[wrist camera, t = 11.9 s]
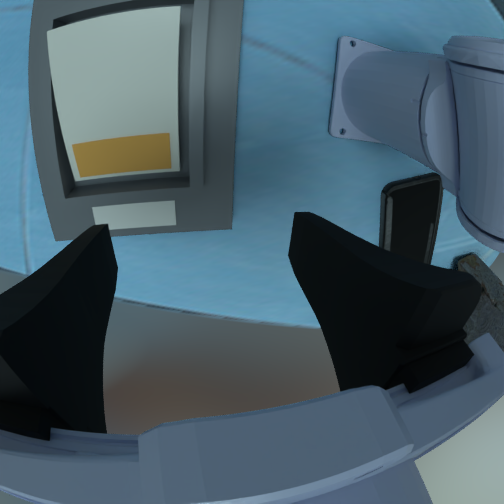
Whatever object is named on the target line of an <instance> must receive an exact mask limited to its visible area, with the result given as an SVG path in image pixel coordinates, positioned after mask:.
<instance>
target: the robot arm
mask: <svg viewBox="0 0 504 504" xmlns="http://www.w3.org/2000/svg"><path fill="white" fill-rule="evenodd" d="M350 41H352V42H353V47H352V46H351V45H350ZM443 51H444V55H439V54H430V53H418V52H400V51H392V50H390V49H387V48H384V47H381V46H378V45H375V44H372V43H369V42H366V41H363V40H359V39H356V38H352V37H349V36H342V37H340V38H339V40H338V52H337V63H336V73H335V82H334V91H333V100H332V108H331V116H330V124H329V133H330V135H332V136H334V137H338V138H347V139H355V140H362V141H369V142H376V143H382V144H386V145H388V146H390V147H392V148H394V149H396V150H398V151H400V152H402V153H404V154H406V155H408V156H409V157H411V158H413V159H415V160H417V161H419V162H420V163H422V164H424V165H426V166H427V167H429V168H431V169H432V170H434V171H436V172H438V173H439V175H440V177H441V179H442V187H443V188H444V189H446V190H447V191H449V192H450V193H452V194H453V195H455V196H456V197H457V198H456V211H457V215H458V218H459V220H460V222H461V224H462V225H463V227H464V228H465V229H466V230H467V232H468V233H469V234H470V235H471V236H473V237H474V238H475V239H476V240H478V241H479V242H481V243H482V244H484V245H485V246H487V247H489V248H491V249H493V250H496V251H499V252H502V253H504V40H502V39H496V38H488V37H477V36H452V37H451V38H450V40H449V41H448V44H444V46H443ZM342 128H343V133H342V134H340V129H342ZM288 256H289V259H290V262H291V266H292V268H293V271H294V274H295V276H296V278H297V280H298V282H299V284H300V286H301V288H302V290H303V292H304V294H305V296H306V298H307V300H308V302H309V304H310V305H311V307H312V309H313V311H314V313H315V315H316V317H317V319H318V322H319V324H320V326H321V329H322V332H323V334H324V337H325V340H326V343H327V346H328V349H329V352H330V355H331V358H332V361H333V365H334V368H335V372H336V375H337V379H338V383H339V387H340V392H338V393H334V394H331V395H327V396H323V397H319V398H315V399H311V400H307V401H303V402H299V403H294V404H289V405H284V406H279V407H274V408H269V409H263V410H257V411H252V412H245V413H237V414H230V415H222V416H214V417H203V418H193V419H187V420H181V421H175V422H168V423H162V424H160V425H158V426H156V427H154V428H152V429H150V430H147V431H145V432H144V433H142V434H141V435H124V434H123V435H122V434H107V430H106V423H105V414H104V401H103V400H104V399H103V354H104V342H105V336H106V330H107V326H108V321H109V316H110V312H111V307H112V303H113V299H114V294H115V290H116V282H117V272H118V266H117V262H116V258H115V254H114V249H113V245H112V241H111V236H110V231H109V226H108V224H99V225H93V226H91V227H90V228H88V229H87V230H85V231H84V232H83V233H82V234H80V235H79V236H78V237H77V238H76V239H74V240H73V241H72V242H71V243H70V244H69V245H67V246H66V247H65V248H64V249H63V250H62V251H60V252H59V253H58V254H57V255H55V256H54V257H53V258H52V259H51V260H49V261H48V262H47V263H46V264H45V265H43V266H42V267H41V268H39V269H38V270H37V271H35V272H34V273H33V274H31V275H30V276H28V277H27V278H26V279H24V280H23V281H21V282H20V283H18V284H16V285H15V286H13V287H12V288H10V289H8V290H7V291H5V292H4V293H2V294H0V491H3V492H5V493H8V494H10V495H13V496H15V497H18V498H20V499H23V500H26V501H29V502H32V503H35V504H433V503H432V500H431V498H430V496H429V494H428V491H427V489H426V487H425V484H424V482H423V480H422V478H421V476H420V473H419V471H418V469H417V467H416V465H415V462H414V461H415V460H416V459H418V458H420V457H421V456H423V455H425V454H426V453H428V452H430V451H431V450H433V449H434V448H436V447H438V446H439V445H441V444H442V443H443V442H445V441H447V440H448V439H450V438H451V437H453V436H454V435H455V434H457V433H458V432H460V431H461V430H462V429H464V428H465V427H466V426H468V425H469V424H470V423H472V422H473V421H474V420H476V419H477V418H478V417H479V416H481V415H482V414H483V413H484V412H485V411H486V410H488V408H490V407H491V406H492V405H493V404H494V403H496V402H497V401H498V400H499V399H500V398H501V397H502V396H503V395H504V352H503V351H502V349H501V348H500V347H499V345H498V344H497V343H496V341H495V340H494V339H493V337H492V336H491V335H490V334H489V333H486V334H484V335H482V336H480V337H478V338H477V339H475V340H473V341H472V342H471V343H470V344H469V345H467V344H466V342H465V341H464V339H465V338H466V337H467V333H466V332H465V331H464V329H463V327H464V325H465V324H466V322H467V321H468V319H469V318H470V316H471V315H472V313H473V311H474V310H475V308H476V306H477V304H478V303H479V300H480V297H481V293H482V287H481V284H480V283H479V282H478V281H477V279H476V278H475V277H474V276H473V275H471V274H470V273H468V272H463V271H457V270H452V269H446V268H441V267H437V266H433V265H429V264H425V263H422V262H419V261H415V260H412V259H409V258H406V257H403V256H401V255H398V254H395V253H393V252H390V251H388V250H385V249H383V248H381V247H378V246H376V245H374V244H372V243H370V242H368V241H366V240H364V239H362V238H360V237H358V236H356V235H354V234H352V233H350V232H348V231H346V230H344V229H343V228H341V227H339V226H337V225H335V224H333V223H331V222H330V221H328V220H326V219H324V218H322V217H320V216H318V215H316V214H313V213H311V212H295V213H294V220H293V227H292V233H291V240H290V247H289V253H288Z"/></svg>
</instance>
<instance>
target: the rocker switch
mask: <svg viewBox="0 0 504 504" xmlns="http://www.w3.org/2000/svg"><path fill="white" fill-rule="evenodd" d="M180 20H181V6H173V7H160V8H150V9H141V10H134V11H127V12H121V13H115V14H110V15H105V16H100V17H96V18H92V19H87V20H83V21H80V22H76V23H72V24H69V25H65V26H62V27H59V28H56V29H53V30H50V31H47V41H48V53H49V62H50V70H51V77H52V84H53V90H54V96H55V101H56V107H57V112H58V117H59V121H60V126H61V130H62V135H63V139H64V143H65V147H66V151H67V154H68V158H69V162H70V165H71V169H72V172H73V175H74V179H75V181H82V180H89V179H97V178H105V177H114V176H124V175H134V174H146V173H159V172H174V171H180V147H179V41H180Z"/></svg>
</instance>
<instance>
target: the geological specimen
mask: <svg viewBox="0 0 504 504" xmlns="http://www.w3.org/2000/svg"><path fill="white" fill-rule="evenodd" d="M458 271H463V272H468V273H470V274H471V275H473V276H474V277H475V278H476V279H477V281H478V282H479V283H480V284H481V287H482V293H481V297H480V300H479V303H478V304H477V306H476V308H475V310H474V311H473V313H472V315H471V316H470V318H469V319H468V321H467V322H466V324H465V325H464V327H463V329H464V331H465V332H466V333H467V337H466V338H465V339H464V341H465V342H466V344H467V345H469V344H470V343H471V342H472V341H473V340H475V339H477V338H478V337H480V336H482V335H484V334H486V333H489V334H490V335H491V336H492V337H493V339H494V340H495V341H496V343H497V344H498V345H499V347H500V348H501V349H502V351H503V352H504V285H503V284H502V281H501V280H500V279H499V278H498V277H497V276H496V275H495V274H494V273H493V272H492V271H491V269H490V268H489V267H488V266H487V265H486V264H485V263H484V262H483V261H482V260H481V259H480V258H479V257H478V256H477V255H476V254H472V255H467V256H466V257H465V258H462V259H461V260H459V261H458Z"/></svg>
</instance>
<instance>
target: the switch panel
mask: <svg viewBox="0 0 504 504" xmlns="http://www.w3.org/2000/svg"><path fill="white" fill-rule="evenodd" d="M243 2H244V0H34V3H33V10H32V18H31V27H30V40H29V66H28V76H29V103H30V116H31V127H32V135H33V143H34V150H35V156H36V162H37V168H38V173H39V178H40V183H41V188H42V192H43V197H44V201H45V205H46V209H47V213H48V217H49V220H50V224H51V228H52V231H53V234H54V238H55V241H64V240H74V239H76V238H77V237H78V236H79V235H80V234H82V233H83V232H84V231H85V230H87V229H88V228H90V227H91V226H93V225H99V224H108V226H109V231H110V236H111V237H113V236H127V235H141V234H156V233H172V232H189V231H206V230H226V229H232V209H233V180H234V155H235V132H236V112H237V93H238V75H239V59H240V43H241V29H242V15H243ZM173 6H181V20H180V41H179V147H180V171H174V172H159V173H146V174H134V175H124V176H114V177H105V178H97V179H89V180H82V181H75V179H74V175H73V172H72V169H71V165H70V162H69V158H68V154H67V151H66V147H65V143H64V139H63V135H62V130H61V126H60V121H59V117H58V112H57V107H56V101H55V96H54V90H53V84H52V77H51V70H50V62H49V53H48V41H47V31H50V30H53V29H56V28H59V27H62V26H65V25H69V24H72V23H76V22H80V21H83V20H87V19H92V18H96V17H100V16H105V15H110V14H115V13H121V12H127V11H134V10H141V9H150V8H160V7H173Z"/></svg>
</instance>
